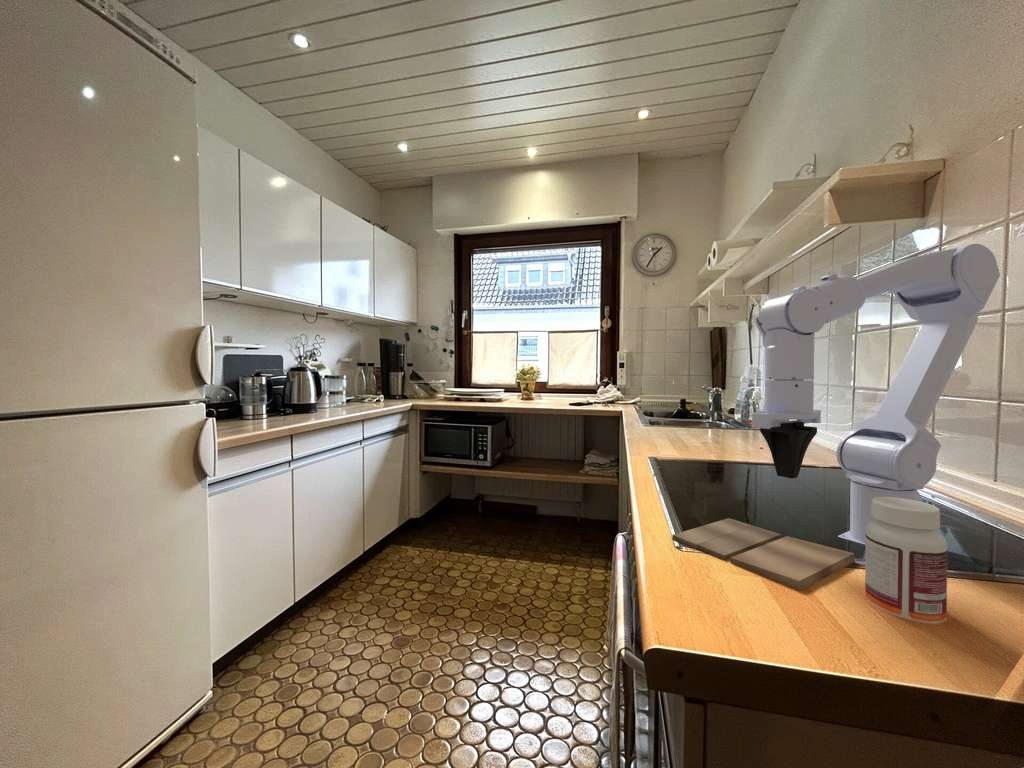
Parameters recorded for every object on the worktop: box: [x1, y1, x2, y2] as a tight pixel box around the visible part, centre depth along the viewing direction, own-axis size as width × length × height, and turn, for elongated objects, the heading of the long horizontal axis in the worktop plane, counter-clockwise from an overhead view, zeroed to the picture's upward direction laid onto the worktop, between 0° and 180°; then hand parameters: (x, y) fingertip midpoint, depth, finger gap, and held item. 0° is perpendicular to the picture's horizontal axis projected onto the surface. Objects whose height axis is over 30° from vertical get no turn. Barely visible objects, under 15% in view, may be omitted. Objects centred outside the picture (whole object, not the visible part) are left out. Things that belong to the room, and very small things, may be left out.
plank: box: [729, 535, 855, 592], centre depth 52 cm, size 14×8×1 cm, turn 120°
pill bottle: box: [864, 497, 949, 624], centre depth 42 cm, size 6×6×11 cm
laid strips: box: [671, 517, 782, 561], centre depth 60 cm, size 14×9×1 cm, turn 120°
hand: (787, 476), depth 57 cm, fingers closed
